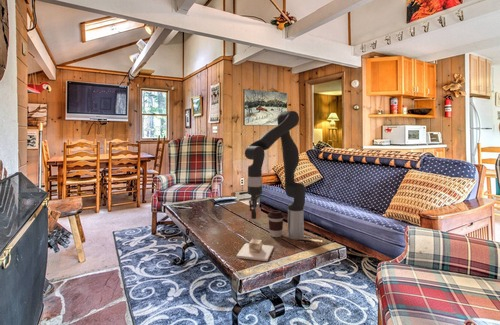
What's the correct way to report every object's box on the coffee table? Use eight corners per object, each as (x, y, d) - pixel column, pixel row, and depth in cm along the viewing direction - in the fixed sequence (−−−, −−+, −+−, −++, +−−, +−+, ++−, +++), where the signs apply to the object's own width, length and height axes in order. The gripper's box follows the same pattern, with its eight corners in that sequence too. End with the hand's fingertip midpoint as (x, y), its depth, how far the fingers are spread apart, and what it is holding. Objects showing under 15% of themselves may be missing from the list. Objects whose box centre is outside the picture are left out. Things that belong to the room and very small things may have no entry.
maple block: (261, 248, 146) (261, 239, 145) (259, 253, 140) (259, 243, 140) (251, 247, 147) (251, 238, 146) (249, 252, 142) (249, 242, 141)
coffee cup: (275, 239, 161) (275, 214, 160) (264, 235, 169) (264, 211, 167) (287, 235, 167) (287, 211, 166) (275, 231, 175) (275, 208, 173)
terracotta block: (260, 216, 144) (260, 207, 143) (258, 219, 139) (258, 210, 138) (251, 216, 145) (251, 206, 145) (249, 218, 140) (248, 209, 140)
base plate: (273, 248, 149) (273, 245, 149) (267, 261, 134) (267, 258, 134) (245, 245, 154) (245, 243, 153) (236, 257, 138) (236, 255, 138)
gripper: (258, 187, 132) (258, 221, 134) (265, 182, 146) (265, 213, 148) (243, 187, 134) (244, 220, 136) (251, 182, 148) (251, 212, 150)
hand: (255, 216), depth 142 cm, fingers closed on terracotta block, 5 cm apart
